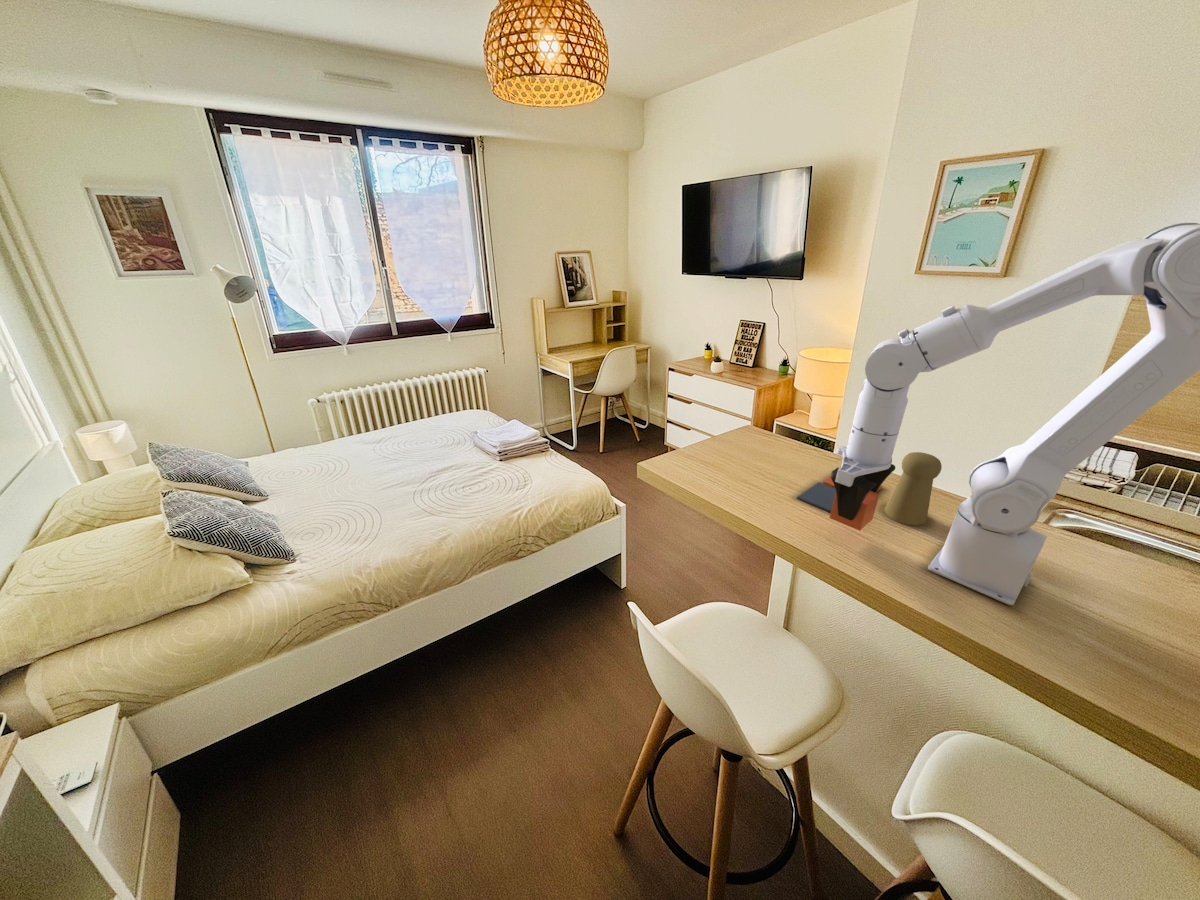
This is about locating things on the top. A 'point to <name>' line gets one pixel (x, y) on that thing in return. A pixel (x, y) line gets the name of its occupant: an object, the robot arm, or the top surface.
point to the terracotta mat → (830, 483)
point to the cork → (913, 489)
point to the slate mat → (819, 496)
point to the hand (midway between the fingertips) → (853, 510)
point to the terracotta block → (863, 514)
